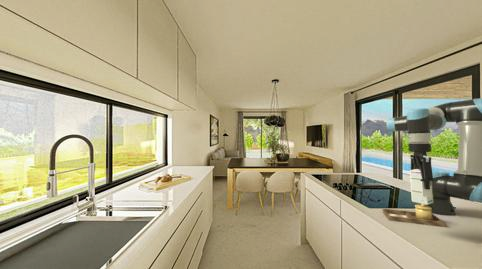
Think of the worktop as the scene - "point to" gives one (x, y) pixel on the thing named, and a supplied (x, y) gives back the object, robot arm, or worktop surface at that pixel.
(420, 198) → the syrup box
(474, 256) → the worktop surface
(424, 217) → the honey pot
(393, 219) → the caddy
